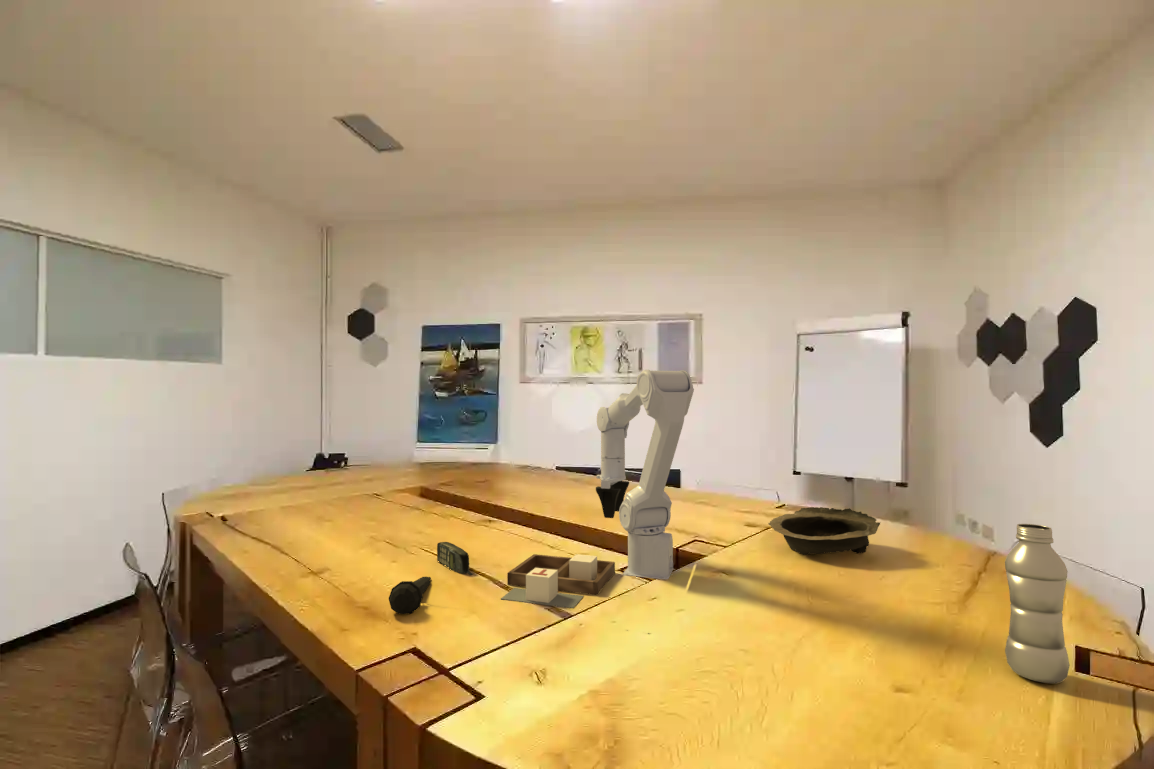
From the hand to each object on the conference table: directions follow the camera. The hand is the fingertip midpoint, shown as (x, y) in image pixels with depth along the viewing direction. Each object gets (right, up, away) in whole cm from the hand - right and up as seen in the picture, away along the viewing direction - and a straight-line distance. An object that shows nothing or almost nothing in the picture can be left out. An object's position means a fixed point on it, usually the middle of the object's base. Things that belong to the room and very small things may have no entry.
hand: (613, 514), depth 131 cm
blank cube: (-7, -8, -21) cm, 24 cm away
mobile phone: (-35, -10, -11) cm, 38 cm away
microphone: (-38, -9, -29) cm, 49 cm away
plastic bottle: (+53, -8, -58) cm, 79 cm away
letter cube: (-15, -8, -30) cm, 35 cm away
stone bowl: (+51, -10, +2) cm, 52 cm away
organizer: (-12, -9, -20) cm, 24 cm away
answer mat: (-15, -9, -30) cm, 35 cm away
